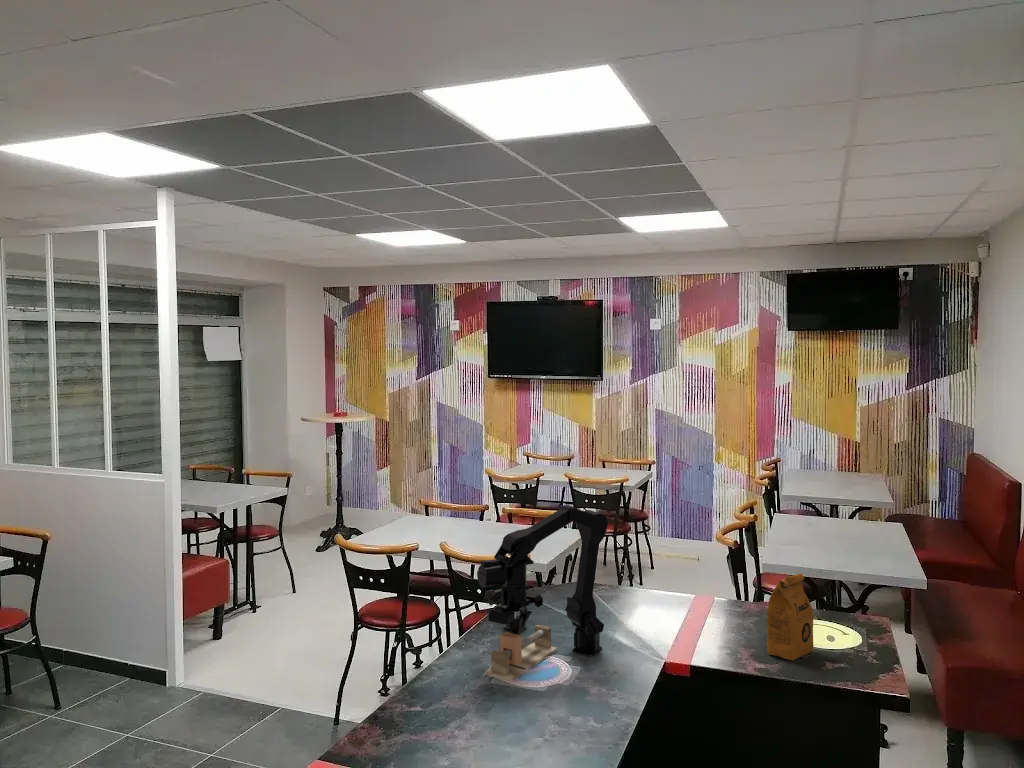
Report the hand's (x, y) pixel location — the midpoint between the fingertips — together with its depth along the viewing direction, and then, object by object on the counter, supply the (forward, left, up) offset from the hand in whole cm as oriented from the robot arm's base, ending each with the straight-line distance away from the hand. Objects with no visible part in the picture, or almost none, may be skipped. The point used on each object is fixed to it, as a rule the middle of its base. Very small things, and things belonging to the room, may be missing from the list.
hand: (516, 638), depth 197 cm
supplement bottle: (+16, -24, -8) cm, 30 cm away
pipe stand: (0, -3, -8) cm, 8 cm away
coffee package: (-60, -48, -8) cm, 77 cm away
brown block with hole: (0, +3, -5) cm, 6 cm away
